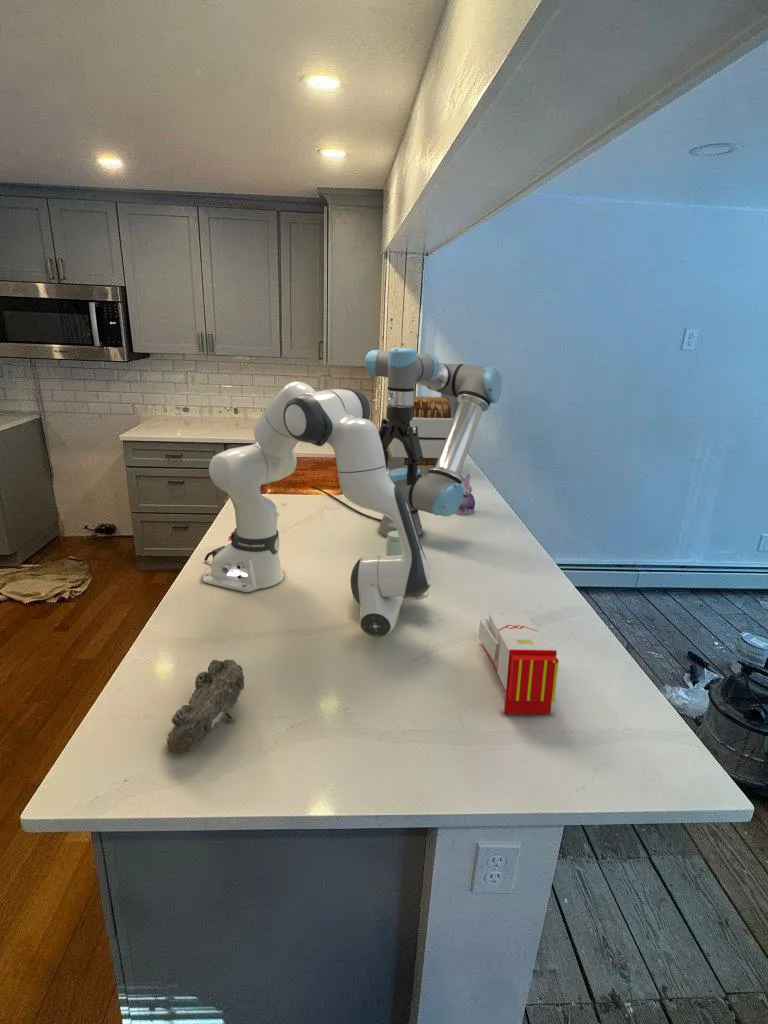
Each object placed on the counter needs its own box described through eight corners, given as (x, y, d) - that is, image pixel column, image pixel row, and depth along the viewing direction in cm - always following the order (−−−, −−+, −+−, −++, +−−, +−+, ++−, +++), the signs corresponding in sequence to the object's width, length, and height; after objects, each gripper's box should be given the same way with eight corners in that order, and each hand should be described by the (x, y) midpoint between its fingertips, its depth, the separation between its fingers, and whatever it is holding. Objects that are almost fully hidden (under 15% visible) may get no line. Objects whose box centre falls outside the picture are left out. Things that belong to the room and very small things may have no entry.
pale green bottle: (387, 588, 161) (390, 529, 155) (404, 591, 159) (407, 532, 153) (381, 595, 156) (384, 535, 150) (398, 599, 155) (402, 538, 149)
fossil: (192, 660, 117) (244, 628, 112) (224, 691, 120) (276, 661, 115) (142, 746, 98) (202, 712, 93) (182, 779, 101) (242, 748, 96)
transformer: (382, 463, 289) (386, 382, 275) (445, 464, 293) (451, 384, 279) (390, 482, 257) (394, 392, 243) (460, 483, 261) (468, 394, 247)
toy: (524, 600, 137) (567, 656, 108) (520, 651, 140) (560, 720, 111) (474, 599, 137) (504, 655, 107) (471, 650, 140) (498, 719, 110)
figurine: (461, 516, 219) (465, 479, 214) (447, 508, 227) (450, 472, 222) (481, 513, 223) (485, 477, 218) (466, 505, 231) (469, 470, 226)
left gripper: (428, 587, 141) (432, 564, 154) (347, 578, 144) (359, 556, 157) (426, 610, 143) (431, 585, 156) (347, 600, 146) (358, 577, 159)
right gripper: (363, 399, 166) (361, 469, 173) (418, 414, 147) (413, 491, 154) (384, 398, 170) (381, 466, 177) (439, 411, 151) (434, 487, 158)
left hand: (394, 571), depth 156 cm, fingers open, 8 cm apart
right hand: (396, 478), depth 166 cm, fingers open, 13 cm apart
